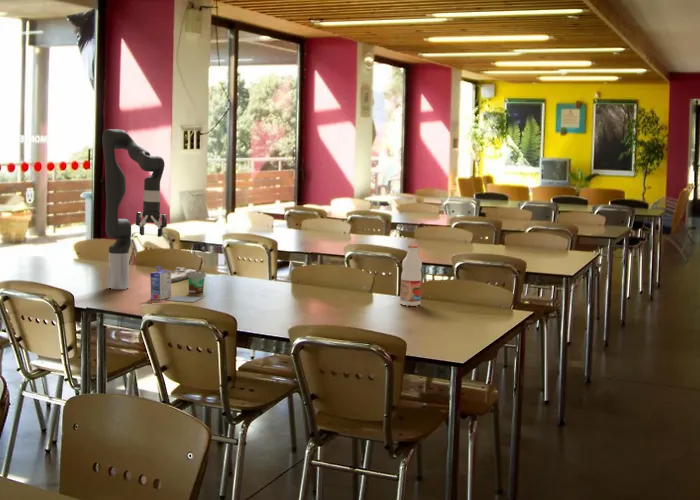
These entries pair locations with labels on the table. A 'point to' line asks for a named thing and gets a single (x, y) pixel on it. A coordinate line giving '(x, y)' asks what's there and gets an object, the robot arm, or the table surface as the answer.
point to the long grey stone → (180, 274)
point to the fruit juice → (411, 278)
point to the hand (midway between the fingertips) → (150, 236)
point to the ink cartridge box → (160, 284)
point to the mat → (184, 299)
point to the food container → (196, 282)
